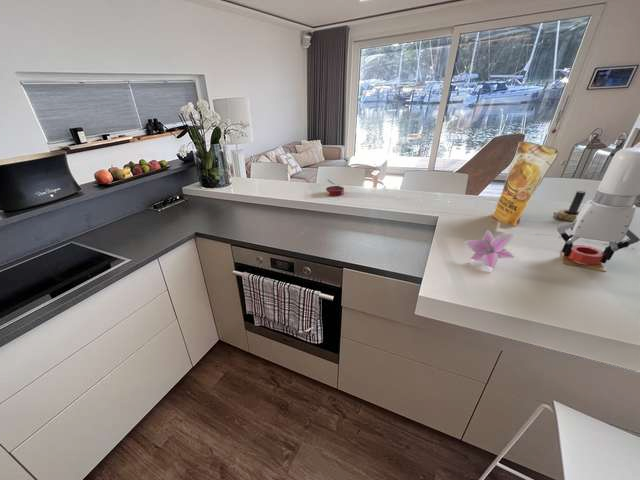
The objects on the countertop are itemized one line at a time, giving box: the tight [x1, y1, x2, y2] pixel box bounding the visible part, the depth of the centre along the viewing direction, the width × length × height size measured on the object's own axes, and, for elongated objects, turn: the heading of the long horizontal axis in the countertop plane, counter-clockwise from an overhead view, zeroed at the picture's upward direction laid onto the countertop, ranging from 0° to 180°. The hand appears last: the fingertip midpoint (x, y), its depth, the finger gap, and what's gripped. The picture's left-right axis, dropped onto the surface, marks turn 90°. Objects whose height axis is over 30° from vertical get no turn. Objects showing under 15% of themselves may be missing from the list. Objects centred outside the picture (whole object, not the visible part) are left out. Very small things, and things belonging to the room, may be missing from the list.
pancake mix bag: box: [492, 140, 559, 227], centre depth 105 cm, size 7×19×28 cm, turn 170°
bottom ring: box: [557, 208, 581, 222], centre depth 106 cm, size 7×7×2 cm
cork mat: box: [560, 249, 607, 272], centre depth 84 cm, size 9×9×1 cm
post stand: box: [553, 190, 587, 223], centre depth 105 cm, size 9×9×11 cm
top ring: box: [567, 244, 605, 264], centre depth 83 cm, size 7×7×2 cm
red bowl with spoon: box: [325, 178, 345, 197], centre depth 159 cm, size 11×10×10 cm
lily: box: [464, 229, 515, 269], centre depth 86 cm, size 12×12×10 cm
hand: (583, 257), depth 84 cm, fingers closed on top ring, 7 cm apart
